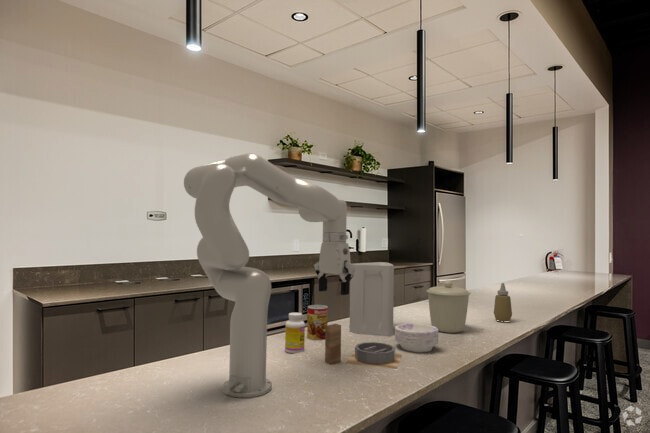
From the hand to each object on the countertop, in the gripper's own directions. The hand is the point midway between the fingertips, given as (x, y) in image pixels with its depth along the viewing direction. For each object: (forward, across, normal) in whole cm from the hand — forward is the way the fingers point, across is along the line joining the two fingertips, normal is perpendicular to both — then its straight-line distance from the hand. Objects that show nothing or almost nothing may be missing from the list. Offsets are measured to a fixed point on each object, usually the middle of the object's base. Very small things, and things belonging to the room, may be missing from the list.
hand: (333, 292), depth 133 cm
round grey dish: (+22, -7, -13) cm, 26 cm away
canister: (+22, -1, -68) cm, 72 cm away
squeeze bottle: (+22, -10, -104) cm, 107 cm away
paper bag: (+22, +17, -43) cm, 51 cm away
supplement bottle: (+22, +18, 0) cm, 29 cm away
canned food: (+22, +26, -18) cm, 39 cm away
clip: (+22, -7, -13) cm, 26 cm away
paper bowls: (+22, -9, -34) cm, 41 cm away
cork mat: (+22, -7, -13) cm, 26 cm away
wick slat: (+22, 0, 0) cm, 22 cm away
